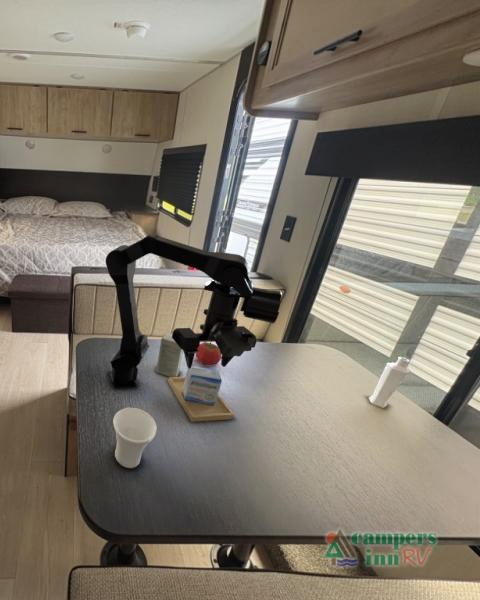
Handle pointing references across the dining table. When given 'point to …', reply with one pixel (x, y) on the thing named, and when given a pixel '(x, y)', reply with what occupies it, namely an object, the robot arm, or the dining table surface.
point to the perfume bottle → (390, 381)
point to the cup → (132, 435)
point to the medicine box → (201, 385)
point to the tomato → (208, 354)
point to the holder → (200, 404)
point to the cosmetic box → (169, 357)
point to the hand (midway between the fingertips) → (205, 366)
